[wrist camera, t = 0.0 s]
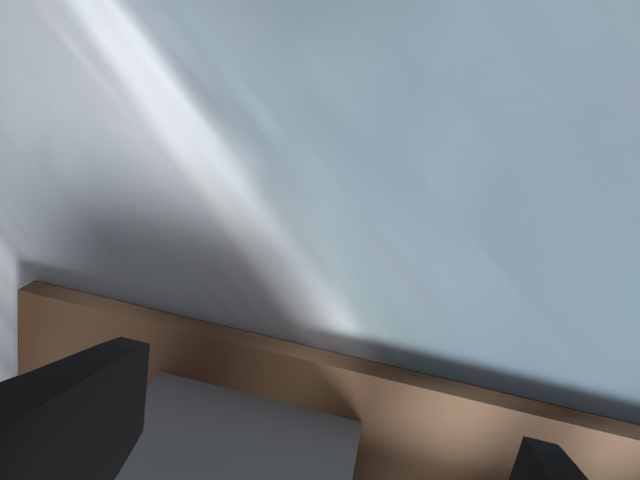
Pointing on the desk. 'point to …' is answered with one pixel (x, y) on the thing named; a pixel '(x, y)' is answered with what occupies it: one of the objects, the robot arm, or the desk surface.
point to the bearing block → (236, 437)
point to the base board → (336, 391)
